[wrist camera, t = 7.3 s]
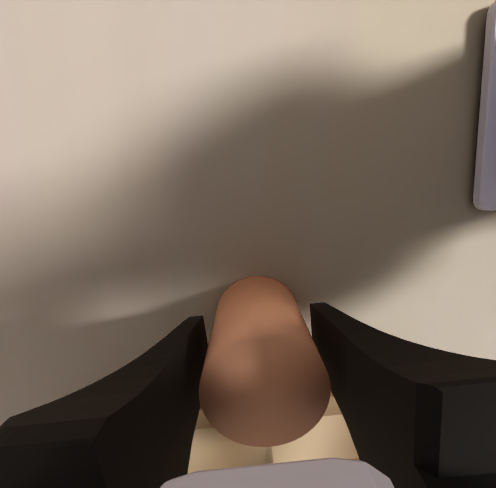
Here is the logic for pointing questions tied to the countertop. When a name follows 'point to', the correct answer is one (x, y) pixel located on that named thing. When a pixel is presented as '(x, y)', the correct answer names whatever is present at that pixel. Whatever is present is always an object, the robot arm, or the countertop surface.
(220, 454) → the pocket board
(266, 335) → the terracotta dowel
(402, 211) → the countertop surface
